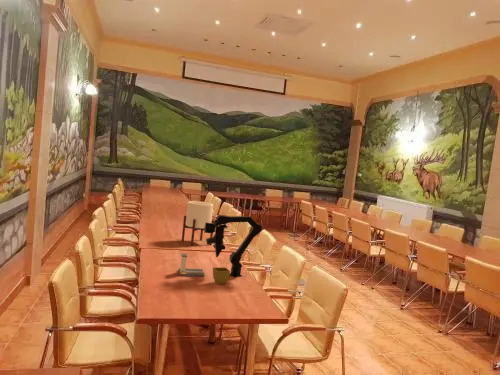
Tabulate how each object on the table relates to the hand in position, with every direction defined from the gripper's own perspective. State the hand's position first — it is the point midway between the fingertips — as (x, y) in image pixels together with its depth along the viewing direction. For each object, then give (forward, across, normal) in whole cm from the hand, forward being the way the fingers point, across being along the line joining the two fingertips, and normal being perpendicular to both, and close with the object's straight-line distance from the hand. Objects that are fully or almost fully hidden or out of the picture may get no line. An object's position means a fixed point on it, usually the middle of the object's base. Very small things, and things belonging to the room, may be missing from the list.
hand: (216, 256), depth 282 cm
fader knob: (+10, 0, -22) cm, 24 cm away
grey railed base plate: (+12, 0, -16) cm, 20 cm away
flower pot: (+12, +18, 0) cm, 22 cm away
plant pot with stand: (+12, -97, -2) cm, 98 cm away
